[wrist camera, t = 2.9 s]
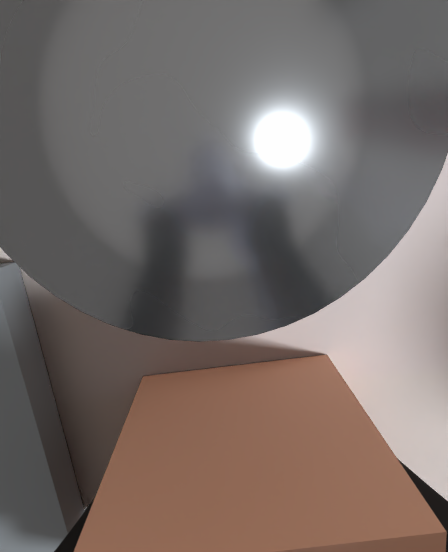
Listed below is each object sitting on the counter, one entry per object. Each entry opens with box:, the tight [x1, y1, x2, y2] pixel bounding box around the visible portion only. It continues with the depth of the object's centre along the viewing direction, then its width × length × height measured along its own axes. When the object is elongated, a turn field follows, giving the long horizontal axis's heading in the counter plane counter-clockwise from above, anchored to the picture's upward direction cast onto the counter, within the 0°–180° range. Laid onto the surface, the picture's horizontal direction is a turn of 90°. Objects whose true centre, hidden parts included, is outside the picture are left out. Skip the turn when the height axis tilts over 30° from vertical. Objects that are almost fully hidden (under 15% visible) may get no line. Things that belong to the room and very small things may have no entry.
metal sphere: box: [0, 0, 448, 341], centre depth 6 cm, size 5×5×5 cm
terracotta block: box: [74, 355, 447, 552], centre depth 8 cm, size 5×5×5 cm
